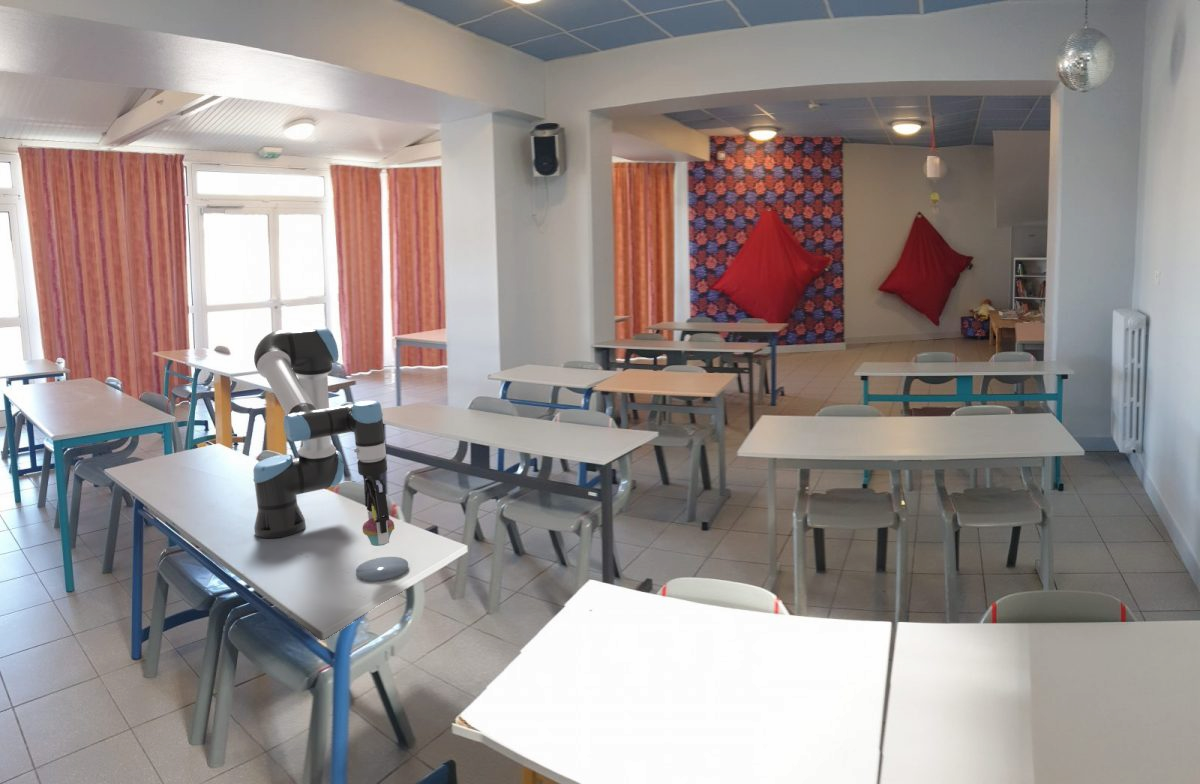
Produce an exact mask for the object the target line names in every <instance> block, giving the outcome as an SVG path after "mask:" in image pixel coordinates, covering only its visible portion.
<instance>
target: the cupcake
mask: <svg viewBox="0 0 1200 784" xmlns="http://www.w3.org/2000/svg"><path fill="white" fill-rule="evenodd" d="M371 507H372V512H373V517H374V518H372V519H369V518H368V520H367V521H365V522H364V523H363V525H362V533H363V534H364V535H365V536H367V539H368V540H369V542H370V545H371V546H375V547H379V546H381V547H382V546H385V545H387V544H388V543H386V544H381V545H379V543H378V533H377V523H375V520H377V517H376V515H375V509H374V506H373V504H372V506H371ZM387 524H388V534H389V540H391V539H390V538H391V535H392V532H393V530H395V523H394V521H393V520H392V519H391V518H389V520H387Z"/></svg>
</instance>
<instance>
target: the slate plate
mask: <svg viewBox="0 0 1200 784" xmlns="http://www.w3.org/2000/svg"><path fill="white" fill-rule="evenodd" d="M408 571H409V562H408V560H406V559H405V558H402V557H399V556H382V557H375V558H372V559H369V560H366V561H364V562H362V563H361V564H359V565H358V566H357V567H356V570H355V574H356V577H357V579H359V580H360V581H363V582H366V583H367V582H368V583H380V582H387V581H391V580H394V579H397V578H399V577H402V576H403V575H405V574H406V573H407V572H408Z"/></svg>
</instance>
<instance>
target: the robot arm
mask: <svg viewBox="0 0 1200 784" xmlns="http://www.w3.org/2000/svg"><path fill="white" fill-rule="evenodd" d="M335 339H336V338H335V337H334V335H333V332H332V331H331V330H330V329H329V328H328V327H326V326H310V327H309V326H308V327H300V328H292V329H280V330H274V331H273V332H270V333H268V334H266V336H264V337H263V338H261V340H260V341H259V343H258V344H257V346H256V347H255V350H254V354H253V355H254V357H253V361H254V366H255V368H256V371H257V372H258V374H259V375H260V376H261V377H262V378H265V380H267V383H268V385H269V386H270V388H271V389H272V390H271V391H272V392H273V393H274V395H275V396H276V397H275V398H276V399H277V401H278V402H279V404H280V406H281V408H282V409H283V412H284V413H285V415H284V418H283V430H284V434H285V436H286V439H287V440H288V441H289V442H292V443H293V442H302V446H301V447H300V448H298V451H297V455H298V457H294V458H293V457H292V455H290V454H281V455H280V454H278V455H274V456H270V457H267V458H264V459H262V460H260V461H259V462H257V463H256V464H255V465H254V466H253V482H254V488H255V497H256V504H257V512H256V517H255V522H254V534H255V536H256V537H259V538H262V539H276V538H277V539H278V538H283V537H288V536H292V535H294V534H298V533H300V532H301V531H303V530H304V529H305V528H306V518H305V516H304V514H303V512H302V511H301V509H300V506H299V505H298V500H297V496H298V495H301V494H306V493H312V492H315V491H321V490H327V489H329V488H333V487H337V486H338V485H340V483H341V482H342V480H343V477H344V469H345V465H344V461H343V455H342V454H341V452H340V451H339V450H337V447H336V446H335V445H333V444H332V441H331V439H332V437H331V436H336V435H341V434H347V433H348V434H349V433H354V440H355V441H354V443H355V447H356V448H354V449H353V451H354V453H356V459H357V460H358V461H357V472H358V475H360V476H362V478H363V487H364V488H363V489H364V490H363V491H364V507H366V510H367V519H368V520H369V519H372V518H374V517H373V512H372V507H371V506H372V504H373V506H374V509H375V515H376V517H377V520H375V523H377V533H378V543H379V545H381V544H385V545H387V544H389V543H390V539H389V534H388V524H387V520H389V519H390V515H389V508H388V501H387V494H386V493H387V492H386V484H385V483H384V480H383V479H382V477H381V475H383V474H385V473H386V472H387V471H388V465H387V463H388V462H387V458H385V457H386V456H387V453H386V451H387V449H386V442H385V432H384V431H385V430H384V422H383V420H384V419H383V411H382V405H381V404H380V402H379V401H378V400H368V399H367V400H361V401H356V402H354V401H346V402H344V403H342V404H341V405H339V406H334V407H330V403H329V402H330V401H329V400H330V399H329V384H328V383H329V382H328V381H329V380H328V379H329V377H328V375H329V374H330V373H331V372H332V371H333V364H335V363H337V362H338V361H339V350H338V349H339V348H338V345H337V342H336V340H335ZM386 543H387V544H386ZM381 546H382V545H381Z"/></svg>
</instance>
